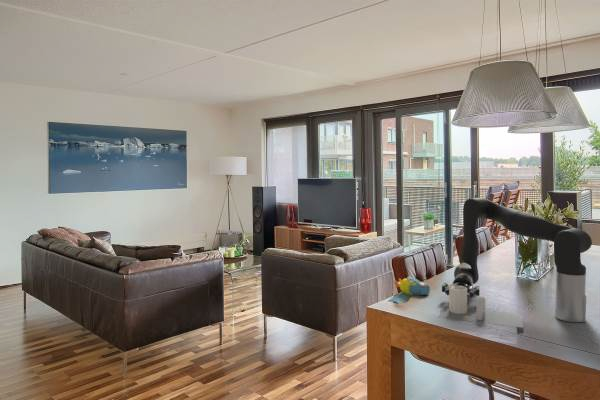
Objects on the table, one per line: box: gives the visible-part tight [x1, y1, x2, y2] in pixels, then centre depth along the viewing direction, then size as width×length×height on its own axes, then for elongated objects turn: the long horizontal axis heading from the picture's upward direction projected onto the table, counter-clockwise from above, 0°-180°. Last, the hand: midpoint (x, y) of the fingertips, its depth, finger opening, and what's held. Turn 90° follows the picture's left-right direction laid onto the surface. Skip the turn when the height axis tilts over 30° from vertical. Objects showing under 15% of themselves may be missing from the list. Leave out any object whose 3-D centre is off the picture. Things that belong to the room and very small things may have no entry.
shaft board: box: [438, 295, 524, 333], centre depth 161 cm, size 28×14×10 cm, turn 65°
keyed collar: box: [448, 286, 468, 314], centre depth 167 cm, size 7×6×9 cm
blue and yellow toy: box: [388, 276, 431, 305], centre depth 193 cm, size 28×9×15 cm
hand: (459, 293), depth 171 cm, fingers open, 8 cm apart
